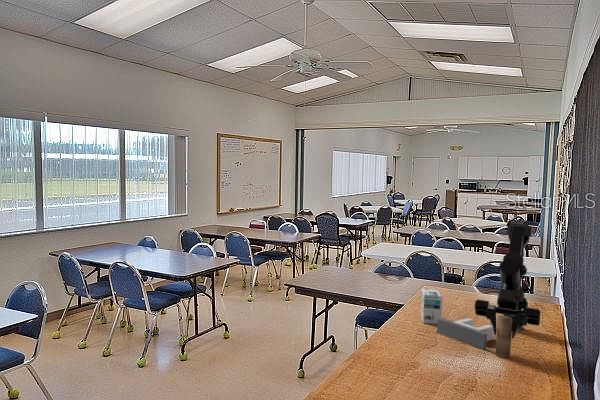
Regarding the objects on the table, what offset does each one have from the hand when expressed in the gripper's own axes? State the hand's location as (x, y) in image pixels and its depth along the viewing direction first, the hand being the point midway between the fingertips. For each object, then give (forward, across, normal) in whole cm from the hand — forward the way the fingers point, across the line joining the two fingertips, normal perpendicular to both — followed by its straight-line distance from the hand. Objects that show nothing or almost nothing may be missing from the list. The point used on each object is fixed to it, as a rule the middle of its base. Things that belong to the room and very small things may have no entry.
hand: (503, 336), depth 141 cm
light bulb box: (-13, -28, +22) cm, 38 cm away
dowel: (+4, 0, +6) cm, 7 cm away
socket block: (-5, -11, +14) cm, 19 cm away
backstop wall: (-1, -14, +10) cm, 17 cm away
